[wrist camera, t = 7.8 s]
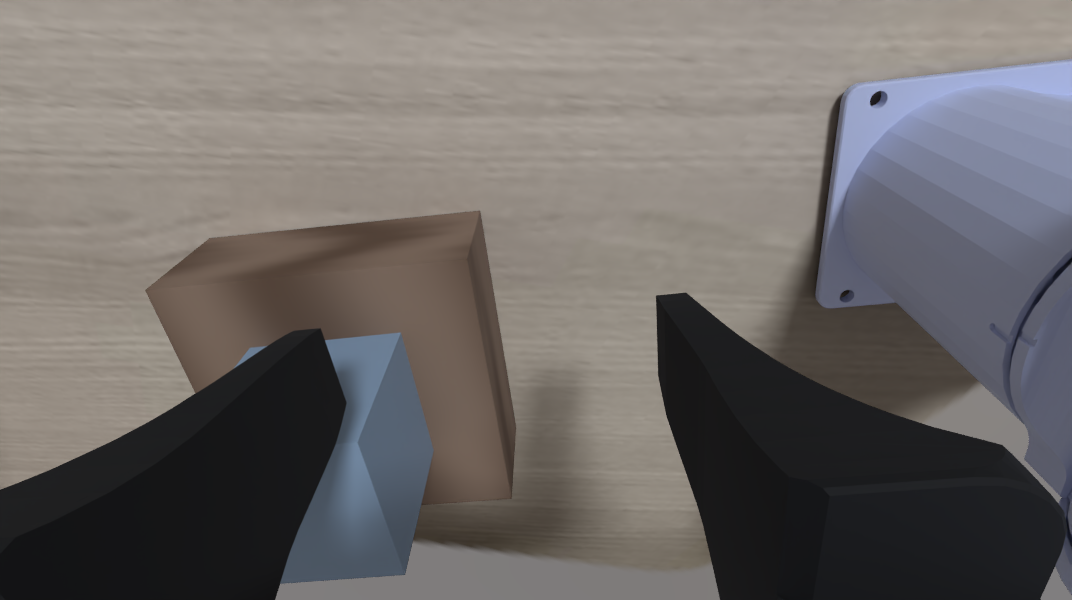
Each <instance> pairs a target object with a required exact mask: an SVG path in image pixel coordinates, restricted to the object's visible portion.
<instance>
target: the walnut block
mask: <svg viewBox="0 0 1072 600" xmlns="http://www.w3.org/2000/svg"><path fill="white" fill-rule="evenodd" d="M145 291H146V293H147V295H148V297H149V299H150V301H151V303H152V305H153V307H154V309H155V311H156V313H157V315H158V317H159V319H160V322H161V324H162V326H163V328H164V330H165V332H166V334H167V336H168V338H169V340H170V342H171V344H172V346H173V348H174V350H175V352H176V354H177V356H178V358H179V360H180V362H181V364H182V367H183V369H184V371H185V373H186V375H187V377H188V379H189V381H190V383H191V385H192V387H193V389H194V391H195V393H197V392H199V391H200V390H202V389H204V388H205V387H207V386H208V385H210V384H211V383H213V382H215V381H216V380H218V379H219V378H221V377H222V376H224V375H225V374H226V373H228V372H229V371H231V370H232V369H234V368H235V366H236V365H237V364H238V362H239V361H240V360H241V359H242V357H243V356H244V355H245V353H246V352H247V351H248V350H249V348H253V347H263V346H268V345H270V344H271V343H273V342H274V341H276V340H278V339H279V338H281V337H283V336H284V335H286V334H288V333H290V332H292V331H296V330H306V329H316V328H321V330H322V333H323V336H324V339H325V340H332V339H342V338H352V337H361V336H371V335H381V334H391V333H401V335H402V338H403V342H404V345H405V349H406V353H407V356H408V360H409V363H410V367H411V370H412V374H413V378H414V381H415V385H416V388H417V392H418V396H419V399H420V403H421V406H422V410H423V413H424V417H425V421H426V424H427V428H428V431H429V435H430V439H431V442H432V446H433V449H434V451H433V456H432V460H431V464H430V469H429V473H428V477H427V482H426V486H425V490H424V495H423V499H422V503H421V505H427V504H441V503H456V502H470V501H484V500H499V499H512V483H513V467H514V451H515V435H516V424H515V418H514V412H513V406H512V400H511V394H510V388H509V382H508V376H507V370H506V364H505V358H504V352H503V346H502V340H501V334H500V328H499V322H498V316H497V310H496V304H495V298H494V292H493V286H492V280H491V274H490V268H489V262H488V256H487V250H486V244H485V238H484V232H483V226H482V220H481V214H480V211H473V212H463V213H454V214H444V215H434V216H424V217H414V218H405V219H395V220H385V221H375V222H365V223H356V224H346V225H336V226H326V227H316V228H307V229H297V230H287V231H277V232H267V233H258V234H248V235H238V236H228V237H218V238H209V239H208V240H207V241H206V242H204V243H203V244H202V245H201V246H199V247H198V248H197V249H196V250H194V251H193V252H192V253H191V254H190V255H188V256H187V257H186V258H185V259H183V260H182V261H181V262H180V263H178V264H177V265H176V266H175V267H173V268H172V269H171V270H170V271H168V272H167V273H166V274H165V275H163V276H162V277H161V278H160V279H158V280H157V281H156V282H155V283H153V284H152V285H151V286H150V287H148V288H147V289H146V290H145Z"/></svg>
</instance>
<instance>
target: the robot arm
mask: <svg viewBox="0 0 1072 600" xmlns="http://www.w3.org/2000/svg"><path fill="white" fill-rule="evenodd" d="M878 91H880V92H881V99H880V101H879V102H878V103H877V104H876V105H873V106H871V105H870V99H871V97H872V95H873V94H874V93H875V92H878ZM846 290H850V291H849V293H848V294H847V295H846V296H844V297H840V295H841V293H842V292H843V291H846ZM815 296H816V299H817V301H818V302H819V304H820V305H821V306H823V307H825V308H842V307H853V306H865V305H876V304H887V303H897V304H898V305H899V306H900V307H901V308H902V309H903V310H904V311H905V312H906V313H908V314H909V315H910V316H911V317H912V318H913V319H914V320H915V321H916V322H917V323H918V324H919V325H920V326H921V327H922V328H923V329H924V330H925V331H926V332H928V333H929V334H930V335H931V336H932V337H933V338H934V339H935V340H936V341H937V342H938V343H939V344H940V345H941V346H942V347H943V348H944V349H945V350H946V351H948V352H949V353H950V354H951V355H952V356H953V357H954V358H955V359H956V360H957V361H958V362H959V363H960V364H961V365H962V366H963V367H964V368H965V369H966V370H967V371H969V372H970V373H971V374H972V375H973V376H974V377H975V378H976V379H977V380H978V381H979V382H980V383H981V384H982V385H983V386H984V387H985V388H986V389H987V390H989V391H990V392H991V393H992V394H993V395H994V396H995V397H996V398H997V399H998V400H999V401H1000V402H1001V403H1002V404H1003V405H1004V406H1005V407H1006V408H1007V409H1009V410H1010V411H1011V412H1012V413H1013V414H1014V415H1015V416H1016V417H1017V418H1018V419H1019V420H1020V421H1021V422H1022V423H1023V424H1025V426H1026V428H1027V430H1028V434H1029V446H1028V449H1027V452H1026V455H1025V458H1024V459H1025V461H1026V462H1027V463H1028V464H1029V465H1030V466H1031V467H1032V468H1033V469H1034V470H1035V471H1036V472H1037V473H1038V474H1039V475H1040V476H1041V477H1042V478H1043V479H1044V480H1045V481H1046V482H1047V483H1048V484H1049V485H1050V486H1051V487H1052V488H1053V489H1054V490H1055V491H1056V492H1057V493H1058V494H1059V495H1060V496H1061V497H1062V498H1061V499H1060V501H1059V503H1057V502H1056V500H1055V499H1054V498H1053V496H1052V495H1051V494H1050V493H1049V492H1048V491H1047V490H1046V489H1045V488H1044V487H1043V486H1042V485H1041V484H1040V483H1039V481H1038V480H1037V479H1036V478H1035V477H1034V476H1033V475H1032V474H1031V473H1030V472H1029V471H1028V470H1027V469H1026V468H1025V467H1024V466H1023V465H1022V464H1021V463H1020V462H1019V461H1018V460H1017V459H1016V458H1015V457H1014V456H1013V455H1012V454H1011V453H1010V452H1009V451H1008V450H1007V449H1006V448H1005V447H1004V446H1003V445H1000V444H996V443H992V442H988V441H985V440H981V439H977V438H973V437H969V436H965V435H961V434H958V433H954V432H950V431H946V430H942V429H938V428H934V427H931V426H928V425H925V424H921V423H918V422H915V421H912V420H909V419H906V418H903V417H900V416H897V415H894V414H891V413H888V412H886V411H883V410H880V409H877V408H875V407H872V406H869V405H867V404H864V403H862V402H859V401H857V400H855V399H852V398H850V397H848V396H845V395H843V394H841V393H838V392H836V391H833V390H831V389H829V388H827V387H825V386H823V385H821V384H819V383H817V382H815V381H813V380H811V379H809V378H807V377H805V376H803V375H801V374H799V373H798V372H796V371H794V370H792V369H790V368H788V367H786V366H785V365H783V364H781V363H780V362H778V361H776V360H775V359H773V358H772V357H770V356H768V355H767V354H765V353H764V352H762V351H761V350H759V349H758V348H756V347H755V346H753V345H752V344H750V343H749V342H747V341H746V340H745V339H743V338H742V337H740V336H739V335H738V334H736V333H735V332H734V331H732V330H731V329H730V328H728V327H727V326H726V325H725V324H723V323H722V322H721V321H719V320H718V319H717V318H716V317H715V316H713V315H712V314H711V313H710V312H709V311H707V310H706V309H705V308H704V307H703V306H701V305H700V304H699V303H698V302H697V301H695V300H694V299H693V298H692V297H691V296H689V295H688V294H687V293H678V294H668V295H658V296H656V307H657V344H658V376H659V381H660V386H661V392H662V397H663V401H664V406H665V411H666V415H667V419H668V422H669V425H670V428H671V430H672V433H673V436H674V439H675V442H676V445H677V448H678V451H679V454H680V457H681V459H682V462H683V465H684V468H685V471H686V474H687V477H688V480H689V482H690V485H691V488H692V491H693V494H694V497H695V500H696V502H697V506H698V509H699V512H700V516H701V519H702V523H703V526H704V531H705V535H706V539H707V544H708V548H709V552H710V556H711V561H712V565H713V569H714V574H715V578H716V583H717V587H718V592H719V596H720V600H1041V599H1040V598H1041V596H1042V593H1043V591H1044V589H1045V587H1046V585H1047V582H1048V580H1049V578H1050V576H1051V574H1052V572H1053V569H1054V567H1056V569H1057V571H1058V573H1059V575H1060V578H1061V580H1062V581H1063V583H1064V584H1065V586H1066V587H1067V589H1068V590H1069V592H1070V593H1071V595H1072V59H1069V60H1060V61H1051V62H1042V63H1033V64H1024V65H1015V66H1006V67H997V68H988V69H979V70H970V71H961V72H952V73H943V74H934V75H926V76H917V77H908V78H899V79H890V80H881V81H872V82H863V83H857V84H854V85H852V86H851V87H849V88H848V89H847V90H846V91H845V93H844V94H843V96H842V99H841V104H840V111H839V119H838V126H837V134H836V142H835V149H834V157H833V164H832V172H831V179H830V187H829V195H828V202H827V210H826V217H825V225H824V232H823V240H822V248H821V255H820V263H819V270H818V278H817V285H816V293H815ZM346 404H347V402H346V399H345V396H344V393H343V391H342V388H341V385H340V382H339V379H338V376H337V373H336V371H335V368H334V365H333V362H332V359H331V356H330V353H329V351H328V348H327V345H326V342H325V339H324V336H323V333H322V330H321V328H316V329H306V330H296V331H292V332H290V333H288V334H286V335H284V336H283V337H281V338H279V339H278V340H276V341H274V342H273V343H271V344H270V345H268V346H267V347H265V348H264V349H262V350H261V351H259V352H258V353H256V354H255V355H253V356H252V357H250V358H249V359H247V360H246V361H244V362H243V363H241V364H240V365H238V366H237V367H235V368H234V369H232V370H231V371H229V372H228V373H226V374H225V375H224V376H222V377H221V378H219V379H218V380H216V381H215V382H213V383H211V384H210V385H208V386H207V387H205V388H204V389H202V390H200V391H199V392H197V393H196V394H194V395H192V396H191V397H189V398H188V399H186V400H185V401H183V402H181V403H180V404H178V405H177V406H175V407H174V408H172V409H170V410H169V411H167V412H165V413H163V414H162V415H160V416H158V417H157V418H155V419H153V420H151V421H149V422H148V423H146V424H144V425H142V426H140V427H138V428H137V429H135V430H133V431H131V432H129V433H127V434H125V435H123V436H122V437H120V438H118V439H116V440H114V441H112V442H110V443H108V444H106V445H103V446H101V447H99V448H97V449H95V450H93V451H90V452H88V453H86V454H84V455H82V456H80V457H77V458H75V459H73V460H71V461H69V462H67V463H64V464H62V465H60V466H58V467H56V468H53V469H51V470H49V471H46V472H44V473H42V474H39V475H37V476H34V477H32V478H29V479H27V480H24V481H22V482H19V483H17V484H14V485H12V486H9V487H6V488H4V489H1V490H0V600H275V598H276V595H277V591H278V588H279V585H280V582H281V579H282V576H283V572H284V569H285V566H286V563H287V560H288V556H289V553H290V551H291V548H292V545H293V543H294V540H295V538H296V535H297V532H298V530H299V528H300V526H301V523H302V521H303V519H304V516H305V514H306V512H307V510H308V507H309V505H310V503H311V501H312V498H313V496H314V494H315V491H316V489H317V487H318V485H319V482H320V480H321V478H322V476H323V473H324V471H325V469H326V466H327V464H328V462H329V459H330V457H331V454H332V452H333V450H334V447H335V445H336V442H337V439H338V435H339V432H340V428H341V425H342V420H343V416H344V412H345V408H346Z"/></svg>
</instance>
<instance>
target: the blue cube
mask: <svg viewBox="0 0 1072 600" xmlns="http://www.w3.org/2000/svg"><path fill="white" fill-rule="evenodd" d="M325 342H326V345H327V348H328V351H329V353H330V356H331V359H332V362H333V365H334V368H335V371H336V373H337V376H338V379H339V382H340V385H341V388H342V391H343V393H344V396H345V399H346V402H347V404H346V408H345V412H344V416H343V420H342V425H341V428H340V432H339V435H338V439H337V442H336V445H335V447H334V450H333V452H332V454H331V457H330V459H329V462H328V464H327V466H326V469H325V471H324V473H323V476H322V478H321V480H320V482H319V485H318V487H317V489H316V491H315V494H314V496H313V498H312V501H311V503H310V505H309V507H308V510H307V512H306V514H305V516H304V519H303V521H302V523H301V526H300V528H299V530H298V532H297V535H296V538H295V540H294V543H293V545H292V548H291V551H290V553H289V556H288V560H287V563H286V566H285V569H284V572H283V576H282V579H281V582H280V584H281V583H296V582H309V581H324V580H338V579H352V578H366V577H380V576H394V575H405V573H406V568H407V564H408V560H409V555H410V551H411V547H412V542H413V538H414V534H415V529H416V525H417V521H418V516H419V512H420V508H421V503H422V499H423V495H424V490H425V486H426V482H427V477H428V473H429V469H430V464H431V460H432V456H433V451H434V449H433V446H432V442H431V439H430V435H429V431H428V428H427V424H426V421H425V417H424V413H423V410H422V406H421V403H420V399H419V396H418V392H417V388H416V385H415V381H414V378H413V374H412V370H411V367H410V363H409V360H408V356H407V353H406V349H405V345H404V342H403V338H402V335H401V333H391V334H381V335H371V336H361V337H352V338H342V339H332V340H325ZM265 347H267V346H263V347H253V348H249V350H248V351H247V352H246V353H245V355H244V356H243V357H242V359H241V360H240V361H239V362H238V364H237V365H236V366H235V367H237V366H238V365H240V364H241V363H243V362H244V361H246V360H247V359H249V358H250V357H252V356H253V355H255V354H256V353H258V352H259V351H261V350H262V349H264V348H265Z"/></svg>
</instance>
